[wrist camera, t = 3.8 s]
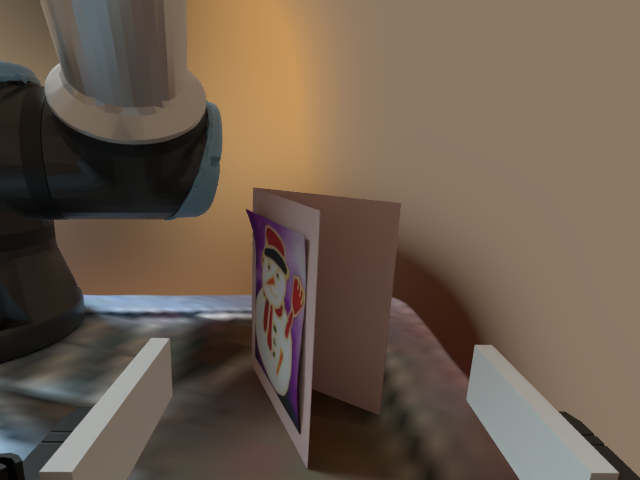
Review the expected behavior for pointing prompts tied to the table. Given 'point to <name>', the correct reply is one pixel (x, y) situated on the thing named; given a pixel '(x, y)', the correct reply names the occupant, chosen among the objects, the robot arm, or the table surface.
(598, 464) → the robot arm
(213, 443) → the table surface
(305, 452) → the greeting card
